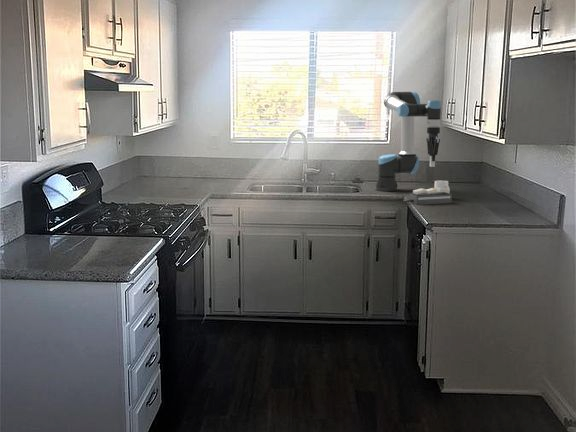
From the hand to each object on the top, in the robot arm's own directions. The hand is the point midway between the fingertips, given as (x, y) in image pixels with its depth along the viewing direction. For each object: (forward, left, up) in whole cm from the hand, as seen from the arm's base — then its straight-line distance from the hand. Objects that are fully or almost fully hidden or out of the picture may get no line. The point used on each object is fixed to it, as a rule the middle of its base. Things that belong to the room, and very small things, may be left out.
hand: (432, 166), depth 386 cm
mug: (-7, +12, -21) cm, 26 cm away
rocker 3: (+5, +5, -14) cm, 16 cm away
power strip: (+5, -6, -21) cm, 22 cm away
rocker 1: (+5, -10, -14) cm, 18 cm away
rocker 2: (+5, -3, -14) cm, 15 cm away
